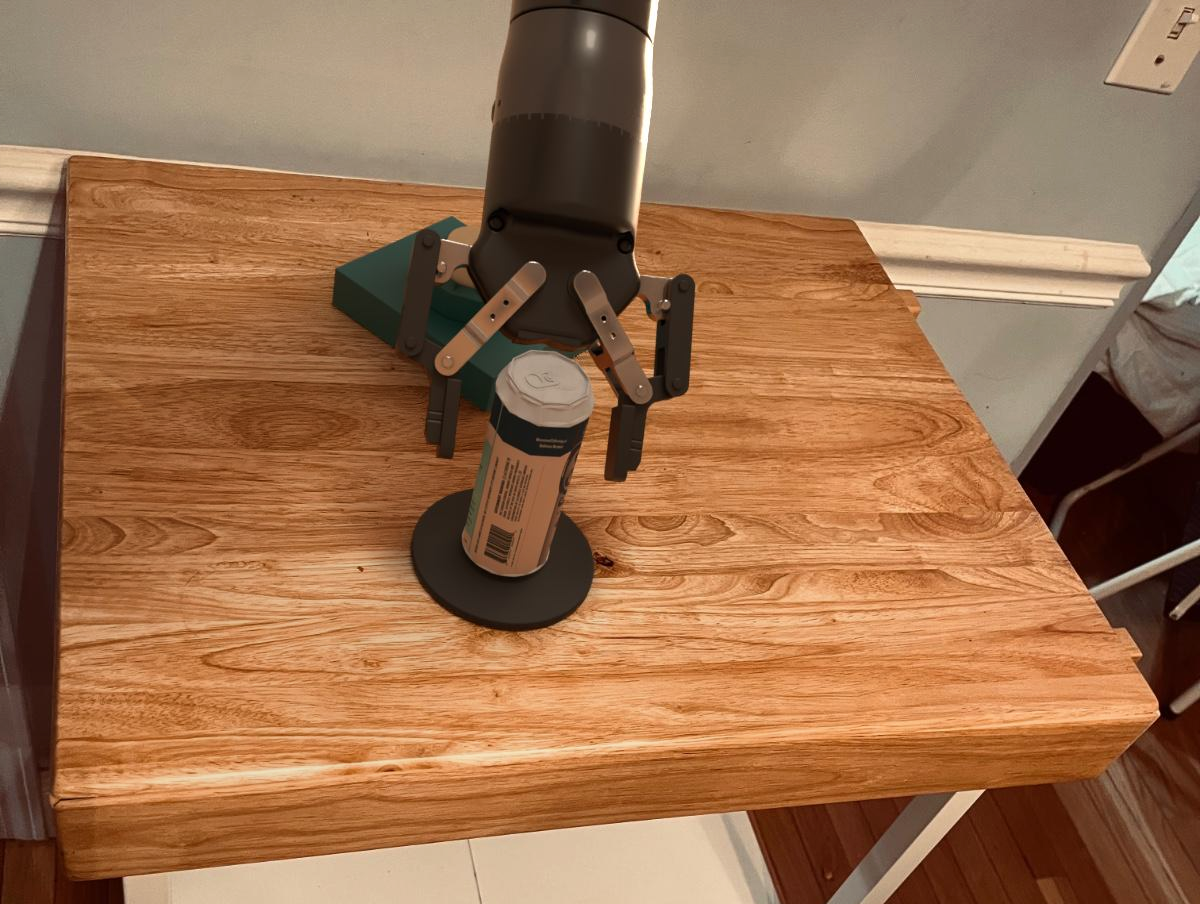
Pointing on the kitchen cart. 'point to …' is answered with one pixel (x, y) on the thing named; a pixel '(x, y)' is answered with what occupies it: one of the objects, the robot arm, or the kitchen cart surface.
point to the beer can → (527, 462)
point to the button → (467, 237)
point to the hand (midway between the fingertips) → (531, 470)
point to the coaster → (494, 595)
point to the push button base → (377, 300)
